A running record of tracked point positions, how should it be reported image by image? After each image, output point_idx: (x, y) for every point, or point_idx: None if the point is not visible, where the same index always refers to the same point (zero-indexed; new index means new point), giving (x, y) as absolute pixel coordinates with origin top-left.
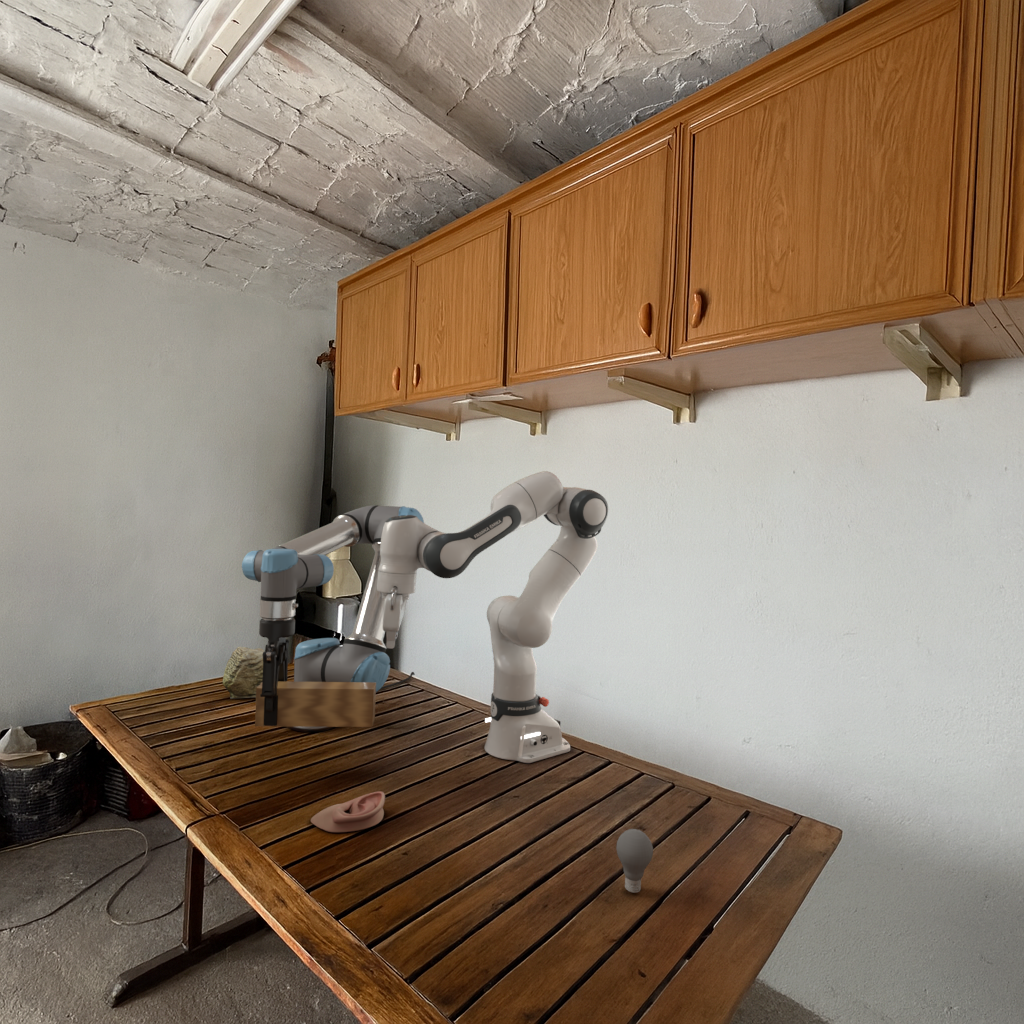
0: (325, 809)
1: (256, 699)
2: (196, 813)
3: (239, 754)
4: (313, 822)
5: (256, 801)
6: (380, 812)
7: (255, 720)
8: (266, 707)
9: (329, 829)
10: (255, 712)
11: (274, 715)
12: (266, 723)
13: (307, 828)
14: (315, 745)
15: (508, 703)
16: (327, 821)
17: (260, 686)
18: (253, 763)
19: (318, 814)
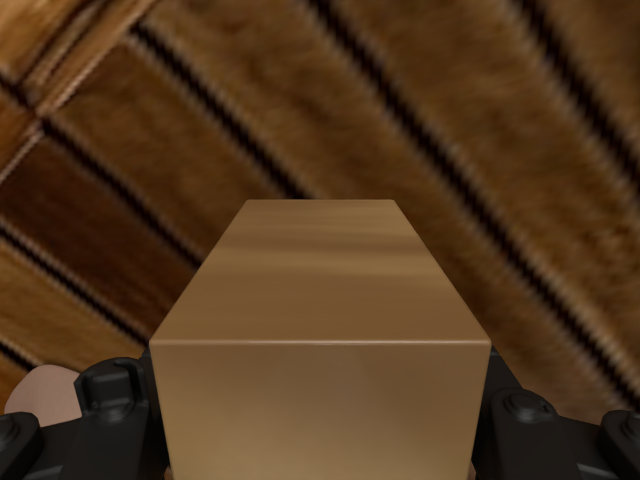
0: (72, 398)
1: (196, 276)
2: (23, 39)
3: (517, 26)
4: (28, 375)
5: (133, 205)
6: None
7: (238, 212)
8: (146, 350)
9: (5, 410)
10: (228, 227)
11: None
12: None
13: (18, 360)
14: (554, 286)
15: None
16: (18, 410)
17: (221, 374)
18: (420, 113)
19: (47, 387)
